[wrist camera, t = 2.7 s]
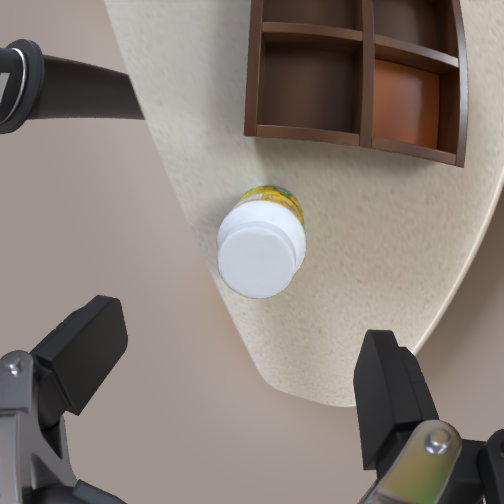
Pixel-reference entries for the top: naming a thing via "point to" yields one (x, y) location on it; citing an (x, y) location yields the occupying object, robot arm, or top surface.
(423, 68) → the compartment tray
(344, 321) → the top surface
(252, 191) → the supplement bottle
